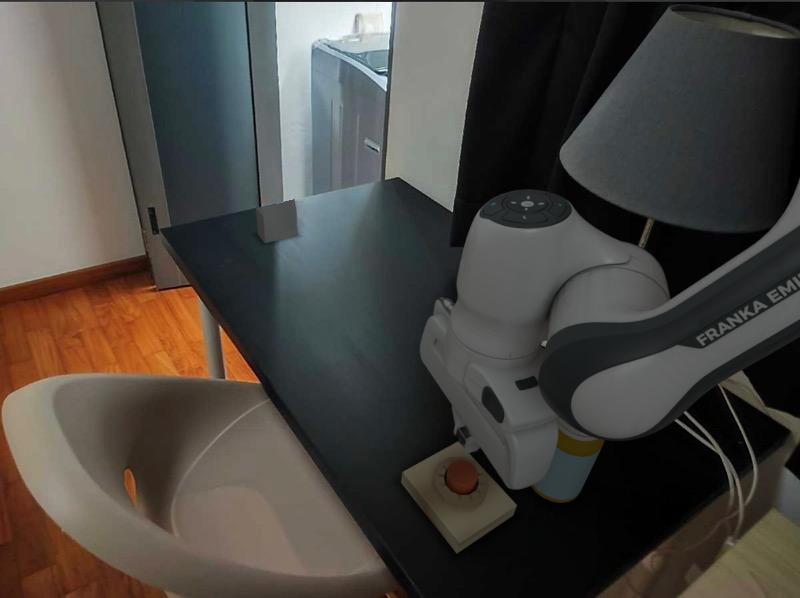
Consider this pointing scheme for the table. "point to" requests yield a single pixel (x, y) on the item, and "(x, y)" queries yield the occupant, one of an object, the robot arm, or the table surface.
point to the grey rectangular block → (277, 221)
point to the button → (461, 477)
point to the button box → (457, 498)
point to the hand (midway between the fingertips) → (466, 442)
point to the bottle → (569, 464)
